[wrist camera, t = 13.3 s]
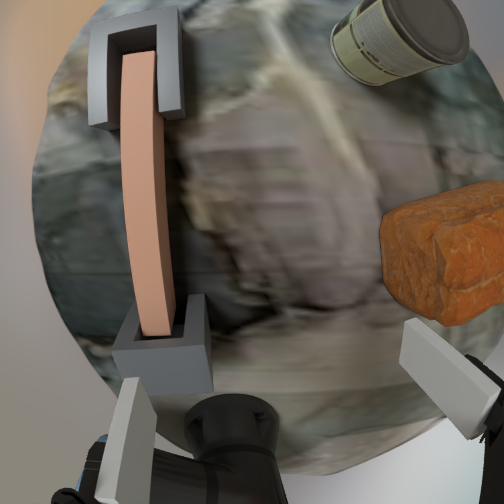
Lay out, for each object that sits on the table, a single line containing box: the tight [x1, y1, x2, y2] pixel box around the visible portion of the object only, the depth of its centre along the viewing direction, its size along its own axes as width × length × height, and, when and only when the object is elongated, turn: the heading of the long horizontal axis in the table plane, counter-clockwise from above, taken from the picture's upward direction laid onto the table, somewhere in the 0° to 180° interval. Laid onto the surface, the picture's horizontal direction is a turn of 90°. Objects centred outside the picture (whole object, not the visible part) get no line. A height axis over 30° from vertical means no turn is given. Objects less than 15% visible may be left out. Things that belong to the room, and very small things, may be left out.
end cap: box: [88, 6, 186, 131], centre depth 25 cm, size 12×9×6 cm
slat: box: [121, 51, 176, 336], centre depth 29 cm, size 28×3×7 cm, turn 1°
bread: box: [379, 181, 504, 327], centre depth 32 cm, size 14×27×15 cm, turn 105°
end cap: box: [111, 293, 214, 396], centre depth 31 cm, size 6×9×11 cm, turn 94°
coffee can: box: [330, 0, 469, 86], centre depth 23 cm, size 10×10×14 cm
